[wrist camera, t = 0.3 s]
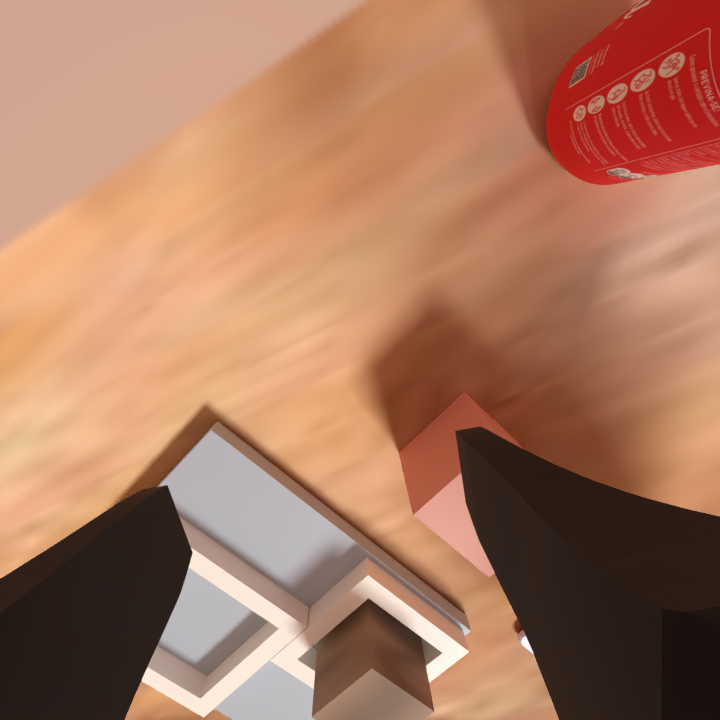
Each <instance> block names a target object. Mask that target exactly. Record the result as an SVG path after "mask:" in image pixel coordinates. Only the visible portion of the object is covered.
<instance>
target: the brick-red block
mask: <svg viewBox="0 0 720 720" xmlns="http://www.w3.org/2000/svg"><path fill="white" fill-rule="evenodd" d="M479 426H481V427H483V428H485V429H487V430H489V431H491V432H493V433H494V434H496V435H498V436H500V437H502V438H504V439H505V440H507V441H509V442H511V443H513V444H515V445H516V446H518V447H520V448H522V449H524V448H523V447H522V446H521V445H520V444H519V443H518V442H517V441H516V440H515V439H514V438H513V437H512V436H511V435H510V434H508V433H507V432H506V431H505V430H504V429H503V428H502V427H501V426H500V425H499V424H498V423H497V422H496V421H495V420H494V419H493V418H492V417H491V416H490V415H489V414H487V413H486V412H485V411H484V410H483V409H482V408H481V407H480V406H479V405H478V404H477V403H476V402H475V401H474V400H473V399H472V398H471V397H470V396H469V395H467V394H466V393H465V392H464V393H462V394H461V395H460V396H459V397H458V398H457V399H456V400H455V401H454V402H453V403H452V404H451V405H450V406H449V407H447V408H446V409H445V410H444V411H443V412H442V413H441V414H440V415H439V416H438V417H437V418H436V419H435V420H434V421H432V422H431V423H430V424H429V425H428V426H427V427H426V428H425V429H424V430H423V431H422V432H421V433H420V434H419V435H417V436H416V437H415V438H414V439H413V440H412V441H411V442H410V443H409V444H408V445H407V446H406V447H405V448H404V449H402V450H401V451H400V452H399V455H400V460H401V464H402V468H403V473H404V477H405V482H406V486H407V490H408V495H409V499H410V503H411V508H412V512H413V515H414V516H415V517H416V518H417V519H419V520H420V521H421V522H422V523H423V524H425V525H426V526H427V527H428V528H429V529H431V530H432V531H433V532H434V533H436V534H437V535H438V536H439V537H440V538H442V539H443V540H444V541H445V542H446V543H448V544H449V545H450V546H451V547H452V548H454V549H455V550H456V551H457V552H459V553H460V554H461V555H462V556H463V557H465V558H466V559H467V560H468V561H469V562H471V563H472V564H473V565H474V566H475V567H477V568H478V569H479V570H480V571H482V572H483V573H484V574H485V575H486V576H488V577H490V576H491V575H492V574H494V573H495V572H494V570H493V568H492V566H491V564H490V562H489V560H488V558H487V556H486V554H485V552H484V550H483V548H482V546H481V544H480V542H479V539H478V537H477V534H476V531H475V528H474V526H473V523H472V520H471V517H470V514H469V511H468V508H467V505H466V501H465V495H464V488H463V481H462V474H461V467H460V461H459V454H458V447H457V440H456V434H455V431H458V430H463V429H468V428H474V427H479ZM524 450H525V449H524Z"/></svg>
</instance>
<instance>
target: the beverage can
mask: <svg viewBox="0 0 720 720" xmlns="http://www.w3.org/2000/svg"><path fill="white" fill-rule="evenodd" d="M545 135H546V140H547V144H548V147H549V150H550V152H551V154H552V156H553V157H554V159H555V160H556V161H557V163H558V164H559V165H560V166H561V167H562V168H564V169H565V170H567V171H568V172H570V173H571V174H572V175H574V176H575V177H577V178H579V179H581V180H583V181H585V182H589V183H593V184H599V185H610V184H617V183H622V182H628V181H633V180H638V179H644V178H649V177H654V176H660V175H665V174H670V173H675V172H681V171H686V170H691V169H697V168H702V167H707V166H713V165H718V164H720V0H641V1H640V2H638V3H637V4H636V5H635V6H633V7H632V8H631V9H630V10H628V11H627V12H626V13H625V14H623V15H622V16H621V17H620V18H618V19H617V20H616V21H615V22H613V23H612V24H611V25H610V26H608V27H607V28H606V29H605V30H603V31H602V32H601V33H600V34H598V35H597V36H596V37H595V38H593V39H592V40H591V41H590V42H588V43H587V44H586V45H585V46H583V47H582V48H581V49H580V50H579V51H578V52H577V53H576V54H575V55H574V57H573V58H572V59H571V60H570V61H569V62H568V64H567V65H566V66H565V68H564V69H563V71H562V72H561V74H560V76H559V78H558V80H557V82H556V84H555V87H554V89H553V92H552V95H551V98H550V102H549V105H548V108H547V112H546V118H545Z"/></svg>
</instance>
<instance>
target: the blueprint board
mask: <svg viewBox="0 0 720 720" xmlns="http://www.w3.org/2000/svg"><path fill="white" fill-rule="evenodd" d="M165 485H168V488H169V490H170V493H171V496H172V499H173V501H174V504H175V507H176V509H177V512H178V515H179V517H180V520H181V523H182V525H183V528H184V531H185V533H186V536H187V539H188V541H189V544H190V547H191V550H192V552H193V553H192V557H191V561H190V564H189V568H188V571H187V575H186V578H185V581H184V584H183V587H182V591H181V594H180V596H179V598H178V601H177V603H176V605H175V607H174V610H173V612H172V614H171V616H170V619H169V621H168V623H167V625H166V628H165V630H164V632H163V634H162V636H161V639H160V641H159V643H158V645H157V647H156V649H155V652H154V654H153V656H152V658H151V660H150V663H149V665H148V667H147V669H146V671H145V674H144V676H143V678H142V680H141V681H142V682H144V683H146V684H147V685H149V686H151V687H153V688H154V689H156V690H158V691H159V692H161V693H163V694H164V695H166V696H168V697H170V698H171V699H173V700H175V701H176V702H178V703H180V704H181V705H183V706H185V707H187V708H188V709H190V710H192V711H193V712H195V713H197V714H198V715H200V716H202V717H205V716H206V715H207V714H208V713H209V712H211V711H212V710H213V709H215V710H217V711H219V712H220V713H222V714H224V715H225V716H227V717H229V718H230V719H232V720H315V719H314V718H312V706H313V693H314V680H315V666H316V653H317V642H318V641H319V640H320V639H322V638H323V637H324V636H325V635H326V634H327V633H329V632H330V631H331V630H332V629H333V628H334V627H336V626H337V625H338V624H339V623H340V622H341V621H343V620H344V619H345V618H346V617H347V616H348V615H350V614H351V613H352V612H353V611H354V610H355V609H357V608H358V607H359V606H360V605H361V604H362V603H364V602H365V601H366V600H367V599H368V598H369V599H370V600H372V601H373V602H374V603H376V604H377V605H378V606H380V607H381V608H382V609H384V610H385V611H387V612H388V613H389V614H391V615H392V616H393V617H395V618H396V619H397V620H399V621H400V622H401V623H403V624H404V625H405V626H407V627H408V628H409V629H411V630H412V631H414V632H415V633H416V634H418V635H419V636H420V637H421V641H422V647H423V652H424V658H425V663H426V669H427V674H428V680H429V683H430V682H431V681H432V680H433V679H435V678H436V677H437V676H439V675H440V674H441V673H442V672H444V671H445V670H446V669H448V668H449V667H450V666H452V665H453V664H454V663H455V662H457V661H458V660H459V659H461V658H462V657H463V656H465V655H466V654H467V653H468V652H469V649H468V646H467V642H466V639H465V635H466V634H468V633H469V632H470V631H471V629H470V626H469V623H468V620H467V616H466V615H465V614H464V613H462V612H461V611H460V610H459V609H457V608H456V607H455V606H454V605H452V604H451V603H450V602H448V601H447V600H446V599H445V598H443V597H442V596H441V595H439V594H438V593H437V592H436V591H434V590H433V589H432V588H431V587H429V586H428V585H427V584H425V583H424V582H423V581H422V580H420V579H419V578H418V577H416V576H415V575H414V574H413V573H411V572H410V571H409V570H408V569H406V568H405V567H404V566H402V565H401V564H400V563H399V562H397V561H396V560H395V559H393V558H392V557H391V556H390V555H388V554H387V553H386V552H385V551H383V550H382V549H381V548H379V547H378V546H377V545H376V544H374V543H373V542H372V541H370V540H369V539H368V538H367V537H365V536H364V535H363V534H362V533H360V532H359V531H358V530H356V529H355V528H354V527H353V526H351V525H350V524H349V523H347V522H346V521H345V520H344V519H342V518H341V517H340V516H339V515H337V514H336V513H335V512H333V511H332V510H331V509H330V508H328V507H327V506H326V505H324V504H323V503H322V502H321V501H319V500H318V499H317V498H315V497H314V496H313V495H312V494H310V493H309V492H308V491H307V490H305V489H304V488H303V487H301V486H300V485H299V484H298V483H296V482H295V481H294V480H292V479H291V478H290V477H289V476H287V475H286V474H285V473H284V472H282V471H281V470H280V469H278V468H277V467H276V466H275V465H273V464H272V463H271V462H269V461H268V460H267V459H266V458H264V457H263V456H262V455H261V454H259V453H258V452H257V451H255V450H254V449H253V448H252V447H250V446H249V445H248V444H246V443H245V442H244V441H243V440H241V439H240V438H239V437H238V436H236V435H235V434H234V433H232V432H231V431H230V430H229V429H227V428H226V427H225V426H223V425H222V424H221V423H220V422H218V421H217V422H216V423H215V424H214V425H213V426H212V427H211V428H210V429H209V430H208V431H207V433H206V434H205V435H204V436H203V437H202V438H201V439H200V440H199V441H198V442H197V443H196V444H195V445H194V447H193V448H192V449H191V450H190V451H189V452H188V453H187V454H186V455H185V456H184V457H183V458H182V459H181V461H180V462H179V463H178V464H177V465H176V466H175V467H174V468H173V469H172V470H171V471H170V472H169V473H168V475H167V476H166V477H165V478H164V479H163V480H162V481H161V482H160V483H159V484H158V485H157V486H156V487H159V486H165Z"/></svg>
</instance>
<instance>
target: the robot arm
mask: <svg viewBox="0 0 720 720" xmlns="http://www.w3.org/2000/svg"><path fill="white" fill-rule="evenodd" d="M455 434H456V440H457V447H458V454H459V461H460V467H461V474H462V481H463V488H464V495H465V501H466V505H467V508H468V511H469V514H470V517H471V520H472V523H473V526H474V528H475V531H476V534H477V537H478V539H479V542H480V544H481V546H482V548H483V550H484V552H485V554H486V556H487V558H488V560H489V562H490V564H491V566H492V568H493V570H494V572H495V574H496V576H497V578H498V580H499V582H500V584H501V586H502V588H503V590H504V592H505V594H506V596H507V598H508V600H509V602H510V604H511V606H512V608H513V610H514V612H515V614H516V616H517V618H518V620H519V622H520V624H521V626H522V628H523V630H522V631H521V632H520V633H519V635H518V639H519V641H520V643H521V645H522V646H524V647H525V648H526V649H527V650H529V651H530V652H531V653H532V654H534V656H535V658H536V661H537V663H538V666H539V669H540V671H541V674H542V676H543V679H544V681H545V684H546V686H547V689H548V692H549V694H550V697H551V699H552V702H553V704H554V707H555V710H556V712H557V715H558V718H559V720H720V517H719V516H714V515H710V514H706V513H701V512H697V511H692V510H688V509H684V508H681V507H677V506H673V505H669V504H666V503H662V502H658V501H654V500H650V499H647V498H644V497H640V496H637V495H634V494H630V493H627V492H624V491H621V490H619V489H616V488H613V487H610V486H607V485H604V484H601V483H598V482H595V481H593V480H590V479H588V478H585V477H582V476H580V475H578V474H575V473H573V472H571V471H568V470H566V469H564V468H561V467H559V466H557V465H555V464H552V463H550V462H548V461H546V460H544V459H542V458H540V457H538V456H536V455H534V454H532V453H530V452H528V451H526V450H524V449H522V448H520V447H518V446H516V445H515V444H513V443H511V442H509V441H507V440H505V439H504V438H502V437H500V436H498V435H496V434H494V433H493V432H491V431H489V430H487V429H485V428H483V427H481V426H479V427H474V428H468V429H463V430H458V431H455ZM192 553H193V552H192V550H191V547H190V544H189V541H188V539H187V536H186V533H185V531H184V528H183V525H182V523H181V520H180V517H179V515H178V512H177V509H176V507H175V504H174V501H173V499H172V496H171V493H170V490H169V488H168V485H165V486H159V487H154V488H149V489H144V490H142V491H140V492H138V493H136V494H134V495H132V496H130V497H128V498H127V499H125V500H123V501H122V502H120V503H118V504H117V505H115V506H113V507H112V508H110V509H109V510H107V511H106V512H104V513H103V514H101V515H99V516H98V517H96V518H95V519H93V520H92V521H90V522H89V523H87V524H86V525H84V526H83V527H81V528H80V529H78V530H77V531H75V532H74V533H72V534H71V535H69V536H67V537H66V538H64V539H63V540H61V541H60V542H58V543H57V544H55V545H54V546H52V547H50V548H49V549H47V550H46V551H44V552H43V553H41V554H39V555H38V556H36V557H35V558H33V559H31V560H30V561H28V562H27V563H25V564H23V565H22V566H20V567H19V568H17V569H15V570H14V571H12V572H11V573H9V574H7V575H6V576H4V577H3V578H1V579H0V720H125V717H126V715H127V712H128V710H129V708H130V705H131V703H132V700H133V698H134V695H135V693H136V691H137V689H138V687H139V684H140V682H141V680H142V678H143V676H144V674H145V671H146V669H147V667H148V665H149V663H150V660H151V658H152V656H153V654H154V652H155V649H156V647H157V645H158V643H159V641H160V639H161V636H162V634H163V632H164V630H165V628H166V625H167V623H168V621H169V619H170V616H171V614H172V612H173V610H174V607H175V605H176V603H177V601H178V598H179V596H180V594H181V591H182V587H183V584H184V581H185V578H186V575H187V571H188V568H189V564H190V561H191V557H192Z"/></svg>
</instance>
